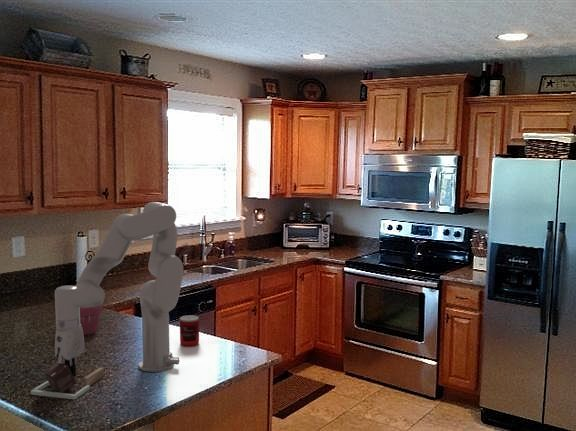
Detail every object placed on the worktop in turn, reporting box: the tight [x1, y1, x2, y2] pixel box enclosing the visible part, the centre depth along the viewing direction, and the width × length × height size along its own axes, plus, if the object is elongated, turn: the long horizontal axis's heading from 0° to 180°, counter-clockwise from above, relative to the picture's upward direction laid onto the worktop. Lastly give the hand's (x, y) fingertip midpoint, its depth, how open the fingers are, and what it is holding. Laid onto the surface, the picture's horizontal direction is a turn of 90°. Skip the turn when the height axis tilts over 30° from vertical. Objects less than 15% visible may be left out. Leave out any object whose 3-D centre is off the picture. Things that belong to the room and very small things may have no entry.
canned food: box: [179, 314, 200, 348], centre depth 233 cm, size 8×8×11 cm
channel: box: [83, 367, 105, 388], centre depth 195 cm, size 13×10×3 cm
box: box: [43, 362, 77, 393], centre depth 186 cm, size 6×6×7 cm
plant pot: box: [80, 302, 104, 336], centre depth 248 cm, size 14×14×13 cm
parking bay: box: [30, 380, 91, 400], centre depth 185 cm, size 16×8×1 cm, turn 77°
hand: (70, 376), depth 191 cm, fingers closed
